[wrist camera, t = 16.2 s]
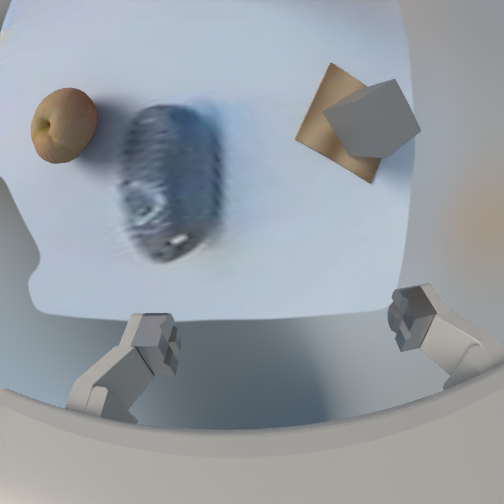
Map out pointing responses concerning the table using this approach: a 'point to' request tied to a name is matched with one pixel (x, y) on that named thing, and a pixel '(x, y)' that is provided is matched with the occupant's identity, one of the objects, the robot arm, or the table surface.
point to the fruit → (63, 125)
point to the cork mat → (321, 133)
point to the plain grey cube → (373, 120)
